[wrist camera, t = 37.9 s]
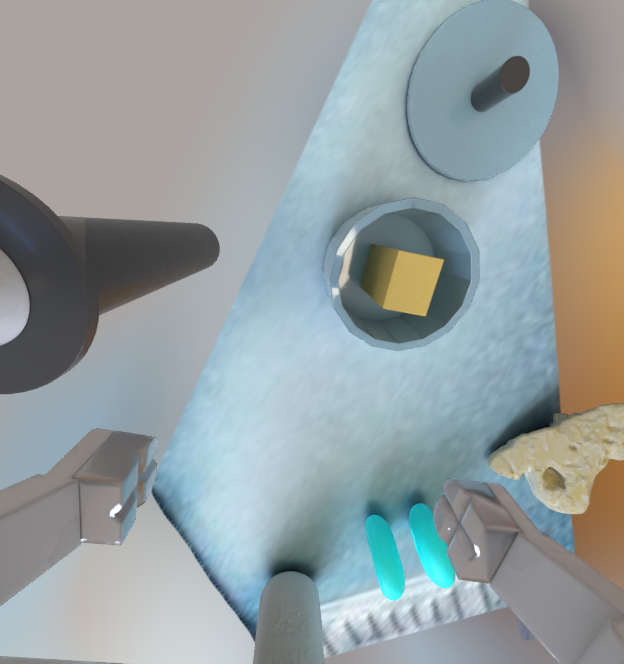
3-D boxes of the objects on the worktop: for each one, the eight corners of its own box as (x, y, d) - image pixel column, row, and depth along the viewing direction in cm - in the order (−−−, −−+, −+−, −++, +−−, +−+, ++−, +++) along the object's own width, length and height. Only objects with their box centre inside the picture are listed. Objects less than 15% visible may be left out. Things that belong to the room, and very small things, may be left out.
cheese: (495, 478, 49) (628, 511, 40) (487, 498, 44) (640, 543, 34) (494, 383, 49) (627, 394, 40) (485, 391, 43) (638, 406, 34)
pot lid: (387, 164, 32) (405, 151, 27) (432, -14, 28) (464, -72, 22) (513, 195, 34) (554, 189, 29) (575, 32, 29) (637, -12, 24)
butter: (360, 287, 36) (382, 308, 26) (370, 243, 34) (398, 249, 25) (392, 293, 36) (426, 316, 27) (404, 251, 35) (444, 259, 25)
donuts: (432, 532, 50) (463, 603, 40) (372, 546, 50) (389, 620, 41) (422, 486, 47) (454, 551, 37) (358, 502, 47) (374, 570, 38)
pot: (312, 313, 37) (316, 336, 29) (338, 193, 33) (351, 182, 25) (418, 333, 39) (449, 360, 31) (455, 220, 35) (503, 218, 26)
